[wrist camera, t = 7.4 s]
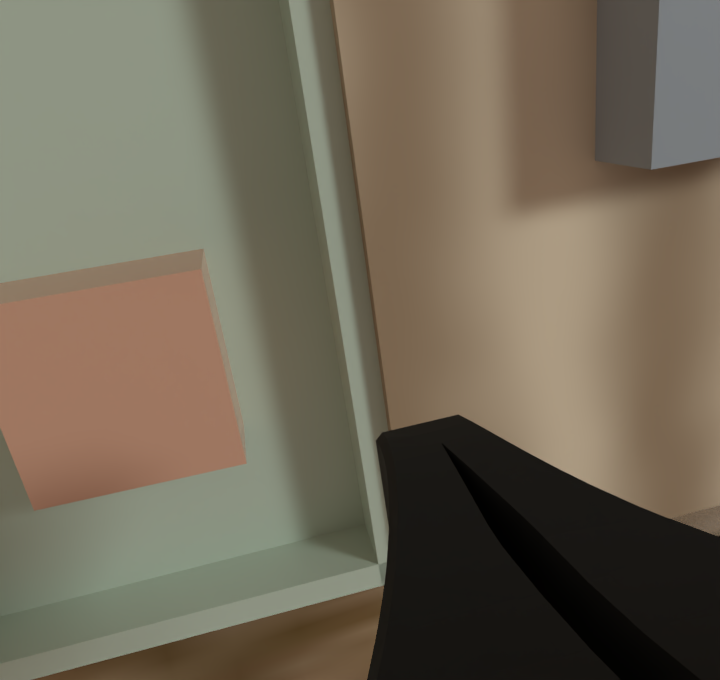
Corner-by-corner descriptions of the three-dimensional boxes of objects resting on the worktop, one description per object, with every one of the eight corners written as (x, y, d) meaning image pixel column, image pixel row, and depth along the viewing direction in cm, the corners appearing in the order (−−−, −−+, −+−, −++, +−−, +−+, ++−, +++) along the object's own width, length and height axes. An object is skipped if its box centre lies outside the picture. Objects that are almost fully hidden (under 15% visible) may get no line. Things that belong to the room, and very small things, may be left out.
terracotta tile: (-47, 312, 12) (-13, 285, 14) (33, 510, 14) (55, 464, 16) (201, 269, 13) (203, 248, 15) (246, 463, 15) (243, 424, 17)
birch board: (942, -365, 14) (1113, -475, 12) (808, 415, 22) (889, 459, 20) (260, -331, 12) (272, -458, 9) (386, 522, 20) (412, 588, 17)
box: (260, -331, 12) (269, -436, 10) (386, 522, 20) (408, 578, 18) (-515, -292, 10) (-738, -412, 8) (-32, 628, 18) (-70, 706, 16)
